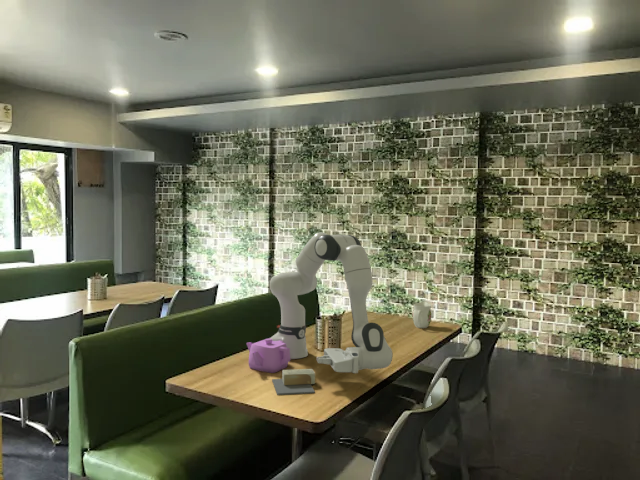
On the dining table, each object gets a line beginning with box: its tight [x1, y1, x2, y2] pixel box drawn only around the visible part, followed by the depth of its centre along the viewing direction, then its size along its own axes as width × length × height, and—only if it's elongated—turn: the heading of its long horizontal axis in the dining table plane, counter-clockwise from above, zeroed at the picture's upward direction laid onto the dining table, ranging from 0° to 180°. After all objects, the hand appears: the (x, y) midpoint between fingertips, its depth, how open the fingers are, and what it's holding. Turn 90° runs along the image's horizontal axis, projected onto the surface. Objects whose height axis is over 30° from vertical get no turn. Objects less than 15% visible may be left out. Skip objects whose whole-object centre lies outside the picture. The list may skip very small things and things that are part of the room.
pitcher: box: [412, 301, 432, 329], centre depth 305 cm, size 11×18×14 cm, turn 157°
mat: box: [271, 378, 316, 396], centre depth 200 cm, size 14×16×1 cm
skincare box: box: [281, 368, 316, 385], centre depth 203 cm, size 6×4×12 cm
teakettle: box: [246, 337, 291, 374], centre depth 223 cm, size 17×17×12 cm
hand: (317, 360), depth 201 cm, fingers closed
